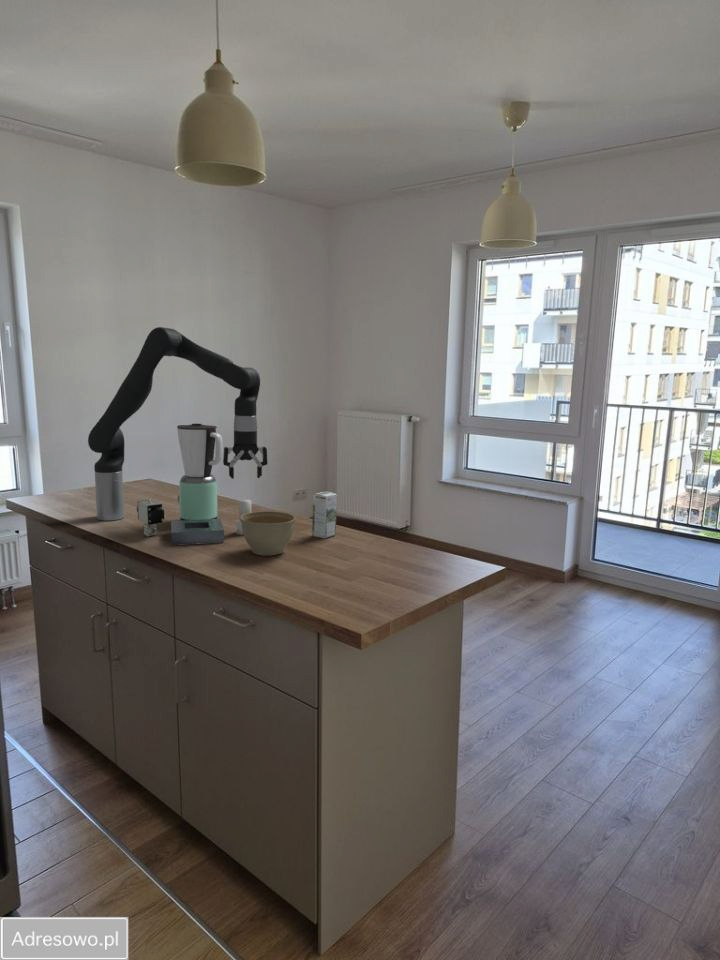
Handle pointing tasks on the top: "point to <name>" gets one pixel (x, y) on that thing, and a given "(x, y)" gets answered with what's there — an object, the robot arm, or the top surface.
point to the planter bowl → (267, 531)
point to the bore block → (197, 531)
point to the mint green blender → (198, 471)
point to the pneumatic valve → (150, 515)
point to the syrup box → (324, 514)
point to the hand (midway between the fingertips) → (245, 478)
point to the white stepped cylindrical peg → (243, 509)
